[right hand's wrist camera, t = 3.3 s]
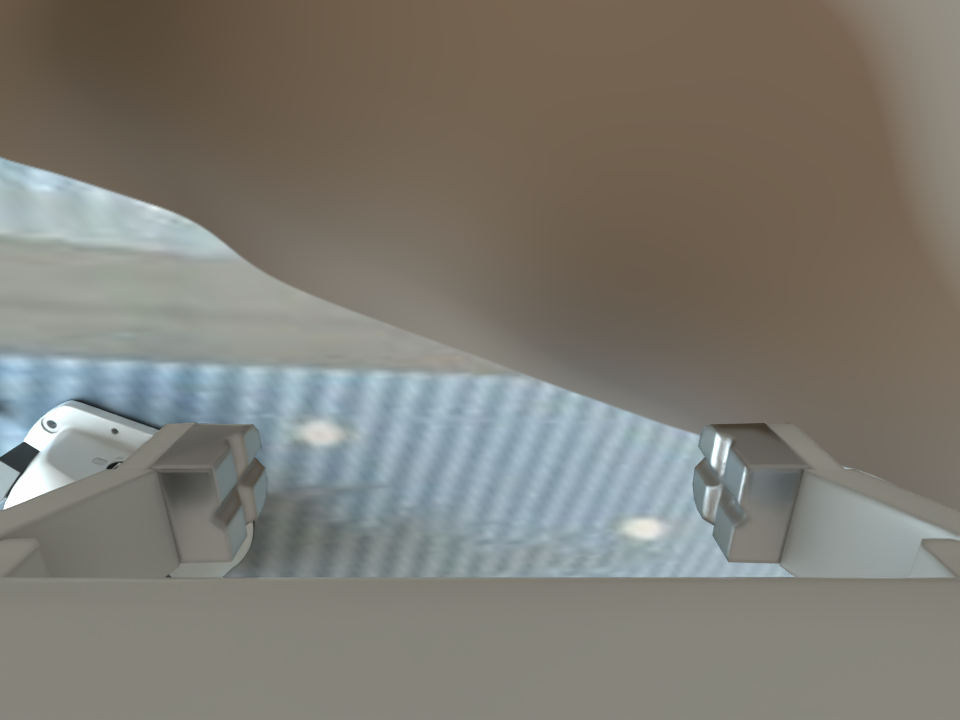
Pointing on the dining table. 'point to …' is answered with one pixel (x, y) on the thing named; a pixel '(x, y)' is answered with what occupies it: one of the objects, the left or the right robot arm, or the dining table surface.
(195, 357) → the dining table surface
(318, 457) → the dining table surface
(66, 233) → the dining table surface
